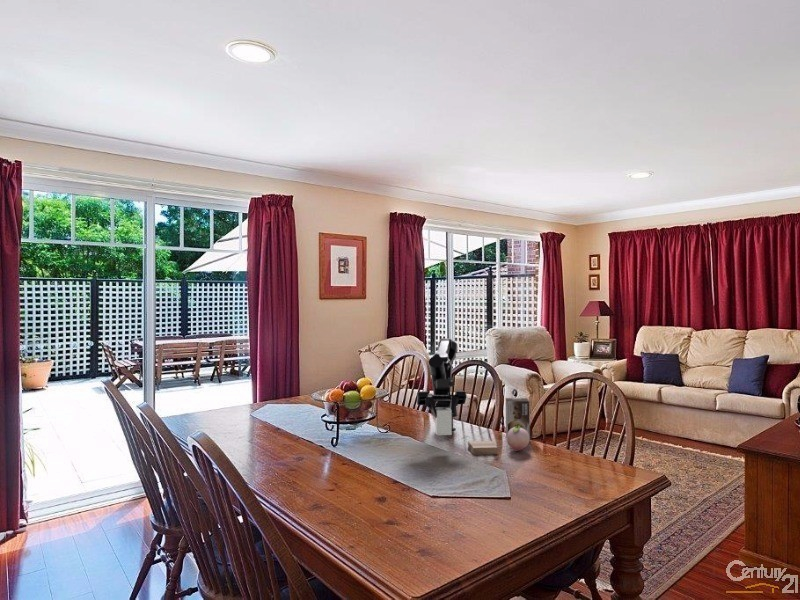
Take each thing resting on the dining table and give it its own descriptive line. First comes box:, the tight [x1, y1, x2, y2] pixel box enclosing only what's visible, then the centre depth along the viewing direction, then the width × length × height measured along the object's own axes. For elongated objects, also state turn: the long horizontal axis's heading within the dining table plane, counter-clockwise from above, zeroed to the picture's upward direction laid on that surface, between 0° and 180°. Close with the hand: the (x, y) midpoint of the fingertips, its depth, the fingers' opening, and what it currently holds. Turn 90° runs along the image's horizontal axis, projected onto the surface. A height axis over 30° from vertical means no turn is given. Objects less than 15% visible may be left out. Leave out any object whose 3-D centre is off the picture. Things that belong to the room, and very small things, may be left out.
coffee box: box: [505, 397, 531, 441], centre depth 211 cm, size 9×6×16 cm
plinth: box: [467, 440, 498, 456], centre depth 193 cm, size 9×9×2 cm
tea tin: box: [434, 407, 453, 436], centre depth 192 cm, size 4×6×10 cm
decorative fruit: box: [506, 425, 530, 452], centre depth 192 cm, size 9×8×10 cm
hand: (444, 416), depth 191 cm, fingers closed on tea tin, 5 cm apart
